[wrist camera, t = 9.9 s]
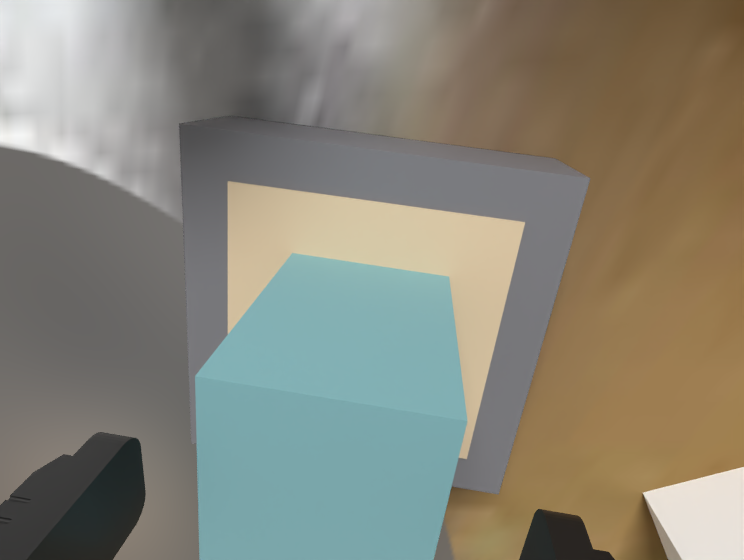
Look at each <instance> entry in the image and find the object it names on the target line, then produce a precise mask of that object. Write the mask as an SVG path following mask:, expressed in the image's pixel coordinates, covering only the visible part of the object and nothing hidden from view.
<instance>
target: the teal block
mask: <svg viewBox="0 0 744 560" xmlns="http://www.w3.org/2000/svg"><path fill="white" fill-rule="evenodd" d="M195 396H196V435H197V471H198V472H197V474H198V513H199V514H198V515H199V554H200V560H434V556H435V552H436V547H437V543H438V539H439V535H440V531H441V527H442V523H443V519H444V515H445V511H446V507H447V503H448V499H449V495H450V491H451V487H452V482H453V478H454V474H455V470H456V466H457V462H458V458H459V454H460V450H461V446H462V442H463V438H464V434H465V430H466V426H467V422H468V420H467V412H466V405H465V397H464V389H463V381H462V373H461V366H460V358H459V350H458V342H457V334H456V326H455V319H454V311H453V303H452V295H451V287H450V280H449V276H442V275H435V274H429V273H422V272H416V271H409V270H402V269H396V268H389V267H382V266H376V265H369V264H362V263H356V262H349V261H342V260H336V259H329V258H323V257H316V256H309V255H303V254H296V253H292V254H291V255H290V257H289V258H288V259H287V260H286V262H285V263H284V264H283V265H282V267H281V268H280V269H279V270H278V272H277V273H276V274H275V276H274V277H273V278H272V279H271V281H270V282H269V283H268V284H267V286H266V287H265V288H264V289H263V291H262V292H261V293H260V295H259V296H258V297H257V298H256V300H255V301H254V302H253V303H252V305H251V306H250V307H249V308H248V310H247V311H246V312H245V314H244V315H243V316H242V317H241V319H240V320H239V321H238V322H237V324H236V325H235V326H234V327H233V329H232V330H231V331H230V333H229V334H228V335H227V336H226V338H225V339H224V340H223V341H222V343H221V344H220V345H219V346H218V348H217V349H216V350H215V352H214V353H213V354H212V355H211V357H210V358H209V359H208V360H207V362H206V363H205V364H204V365H203V367H202V368H201V369H200V370H199V372H198V373H197V374H196V376H195Z"/></svg>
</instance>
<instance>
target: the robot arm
mask: <svg viewBox="0 0 744 560" xmlns="http://www.w3.org/2000/svg"><path fill="white" fill-rule="evenodd" d="M144 502H145V484H144V474H143V464H142V454H141V446H140V442H139V440H138V439H136V438H132V437H126V436H120V435H115V434H109V433H103V432H99V433H96V434H95V435H93V436H92V437H91V438H90V439H89V440H88V441H87V442H86V443H85V444H84V445H83V446H82V447H81V448H80V449H79V450H78V451H77V452H76V453H75V454H74V455H73V456H70V455H62V456H60V457H58V458H57V459H55V460H53V461H52V462H50V463H48V464H47V465H45V466H43V467H42V468H40V469H38V470H37V471H35V472H33V473H32V474H31V476H29V477H28V478H27V480H25V481H24V482H23V484H21V485H20V486H19V487H18V488H17V489H16V490H15V491H14V492H13V493H12V494H11V495H10V498H9V500H5V501H4V502H3V503H2V504H1V505H0V560H113V558H114V557H115V555H116V554H117V552H118V551H119V549H120V548H121V546H122V545H123V543H124V542H125V540H126V539H127V537H128V536H129V534H130V533H131V531H132V529H133V528H134V527H135V525H136V523H137V522H138V520H139V517H140V515H141V512H142V509H143V506H144ZM519 560H615V559H614V558H613V557H612V555H611V554H610V553H609V552H606V551H600V550H594V549H593V548H592V545H591V542H590V539H589V536H588V534H587V531H586V528H585V525H584V523H583V521H582V519H581V518H580V517H579V516H576V515H571V514H565V513H559V512H553V511H547V510H542V509H538V510H537V511H536V512H535V514H534V517H533V520H532V523H531V526H530V529H529V532H528V535H527V538H526V541H525V544H524V547H523V550H522V553H521V556H520V559H519Z"/></svg>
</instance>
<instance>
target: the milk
mask: <svg viewBox="0 0 744 560" xmlns="http://www.w3.org/2000/svg"><path fill="white" fill-rule="evenodd" d="M643 495H644V498H645V500H646V503H647V505H648V508H649V511H650V513H651V516H652V519H653V521H654V524H655V527H656V529H657V532H658V534H659V537H660V540H661V542H662V545H663V548H664V550H665V553H666V555H667V558H668V560H744V467H742V468H738V469H734V470H730V471H726V472H722V473H718V474H714V475H710V476H706V477H702V478H699V479H695V480H691V481H687V482H683V483H679V484H675V485H671V486H667V487H663V488H659V489H655V490H652V491H648V492H644V493H643Z"/></svg>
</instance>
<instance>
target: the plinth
mask: <svg viewBox="0 0 744 560" xmlns="http://www.w3.org/2000/svg"><path fill="white" fill-rule="evenodd" d="M179 127H180V153H181V180H182V206H183V230H184V231H183V233H184V259H185V285H186V311H187V339H188V363H189V389H190V417H191V442H192V443H194V444H197V435H196V396H195V376H196V374H197V373H198V372H199V370H200V369H201V368H202V367H203V365H204V364H205V363H206V362H207V360H208V359H209V358H210V357H211V355H212V354H213V353H214V352H215V350H216V349H217V348H218V346H219V345H220V344H221V343H222V341H223V340H224V339H225V338H226V336H227V335H228V334H229V333H230V331H231V330H232V329H233V327H234V326H235V325H236V324H237V322H238V321H239V320H240V319H241V317H242V316H243V315H244V314H245V312H246V311H247V310H248V308H249V307H250V306H251V305H252V303H253V302H254V301H255V300H256V298H257V297H258V296H259V295H260V293H261V292H262V291H263V289H264V288H265V287H266V286H267V284H268V283H269V282H270V281H271V279H272V278H273V277H274V276H275V274H276V273H277V272H278V270H279V269H280V268H281V267H282V265H283V264H284V263H285V262H286V260H287V259H288V258H289V257H290V255H291V254H292V253H296V254H303V255H309V256H316V257H323V258H329V259H336V260H342V261H349V262H356V263H362V264H369V265H376V266H382V267H389V268H396V269H402V270H409V271H416V272H422V273H429V274H435V275H442V276H449V280H450V287H451V295H452V303H453V311H454V319H455V326H456V334H457V342H458V350H459V358H460V366H461V373H462V381H463V389H464V397H465V405H466V412H467V420H468V422H467V426H466V430H465V434H464V438H463V442H462V446H461V450H460V454H459V458H458V462H457V466H456V470H455V474H454V478H453V482H452V487H458V488H464V489H470V490H476V491H482V492H488V493H494V494H499V491H500V487H501V484H502V481H503V477H504V474H505V470H506V467H507V463H508V460H509V456H510V453H511V450H512V446H513V443H514V439H515V436H516V432H517V429H518V426H519V422H520V419H521V415H522V412H523V408H524V405H525V401H526V398H527V395H528V391H529V388H530V384H531V381H532V377H533V374H534V370H535V367H536V364H537V360H538V357H539V353H540V350H541V346H542V343H543V340H544V336H545V333H546V329H547V326H548V322H549V319H550V315H551V312H552V309H553V305H554V302H555V298H556V295H557V291H558V288H559V284H560V281H561V278H562V274H563V271H564V267H565V264H566V260H567V257H568V253H569V250H570V247H571V243H572V240H573V236H574V233H575V229H576V226H577V223H578V219H579V216H580V212H581V209H582V205H583V202H584V198H585V195H586V192H587V188H588V185H589V181H590V178H589V177H587V176H585V175H583V174H582V173H580V172H578V171H576V170H574V169H573V168H571V167H569V166H567V165H566V164H564V163H562V162H560V161H558V160H557V159H555V158H547V157H540V156H532V155H524V154H517V153H509V152H501V151H494V150H486V149H479V148H471V147H463V146H456V145H448V144H441V143H433V142H425V141H418V140H410V139H403V138H395V137H387V136H380V135H372V134H365V133H357V132H349V131H342V130H334V129H326V128H319V127H311V126H304V125H296V124H288V123H281V122H273V121H266V120H258V119H250V118H243V117H235V116H226V117H219V118H213V119H207V120H200V121H194V122H187V123H181V124H179Z"/></svg>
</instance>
